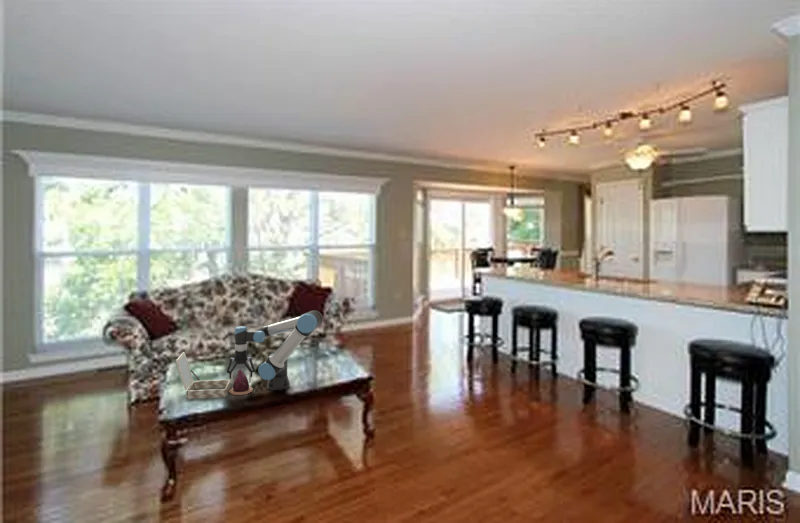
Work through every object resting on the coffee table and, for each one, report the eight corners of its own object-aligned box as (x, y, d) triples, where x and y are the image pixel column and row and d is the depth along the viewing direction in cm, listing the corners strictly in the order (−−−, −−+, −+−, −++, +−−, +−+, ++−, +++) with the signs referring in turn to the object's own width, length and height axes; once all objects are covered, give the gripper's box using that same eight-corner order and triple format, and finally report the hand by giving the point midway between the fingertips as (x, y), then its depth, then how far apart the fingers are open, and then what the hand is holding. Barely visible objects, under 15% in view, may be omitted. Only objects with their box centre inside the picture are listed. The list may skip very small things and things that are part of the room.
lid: (184, 351, 331) (183, 352, 331) (177, 360, 312) (175, 360, 312) (193, 379, 334) (191, 380, 334) (186, 389, 314) (185, 390, 314)
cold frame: (230, 386, 339) (230, 368, 338) (226, 397, 319) (226, 377, 318) (190, 388, 334) (190, 369, 333) (183, 398, 314) (183, 379, 313)
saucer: (253, 387, 339) (253, 385, 339) (251, 394, 325) (251, 393, 325) (230, 387, 337) (230, 386, 336) (227, 395, 322) (227, 394, 322)
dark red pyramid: (233, 393, 333) (229, 370, 335) (249, 389, 337) (245, 367, 339) (233, 393, 324) (229, 370, 325) (250, 390, 327) (246, 367, 329)
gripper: (259, 347, 334) (259, 380, 336) (223, 348, 330) (223, 381, 332) (258, 350, 327) (258, 383, 329) (221, 351, 323) (221, 385, 324)
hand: (241, 382), depth 330 cm, fingers open, 11 cm apart
